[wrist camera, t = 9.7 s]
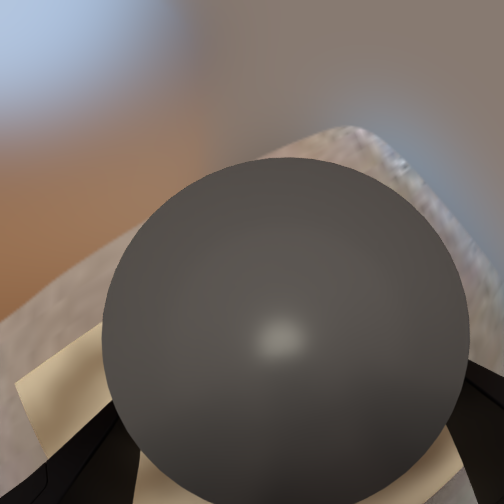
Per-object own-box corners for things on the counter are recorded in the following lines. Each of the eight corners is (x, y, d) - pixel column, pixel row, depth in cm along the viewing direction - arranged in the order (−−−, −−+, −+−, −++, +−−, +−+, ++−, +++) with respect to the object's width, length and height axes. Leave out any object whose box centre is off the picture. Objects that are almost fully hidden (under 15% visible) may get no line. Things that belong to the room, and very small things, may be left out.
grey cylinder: (369, 370, 16) (517, 343, 5) (263, 447, 15) (241, 569, 4) (293, 273, 19) (315, 114, 7) (190, 344, 18) (56, 278, 6)
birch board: (465, 453, 14) (472, 455, 13) (180, 609, 10) (177, 615, 9) (281, 211, 22) (281, 203, 21) (23, 384, 18) (14, 383, 17)
